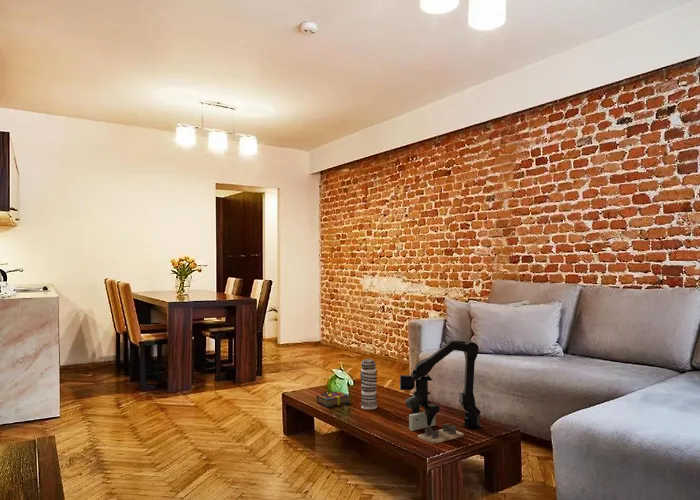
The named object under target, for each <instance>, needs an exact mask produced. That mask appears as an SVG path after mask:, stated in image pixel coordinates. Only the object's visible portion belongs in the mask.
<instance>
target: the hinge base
mask: <svg viewBox="0 0 700 500" xmlns="http://www.w3.org/2000/svg"><path fill="white" fill-rule="evenodd" d="M464 436H465V433H463V432H460V431H459V430H457V427H456V426H455V425H452V426H450V423H449V422H447V423H444V424H442V429H436V430H433V427H432V426H431V427H426V428H424V433H420V434H417V438H419V439H420V440H422V441H425V442H426V443H428V444H431V445H436V444H438V443H442V442H446V441H450V440H453V439H459V438H462V437H464Z"/></svg>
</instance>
